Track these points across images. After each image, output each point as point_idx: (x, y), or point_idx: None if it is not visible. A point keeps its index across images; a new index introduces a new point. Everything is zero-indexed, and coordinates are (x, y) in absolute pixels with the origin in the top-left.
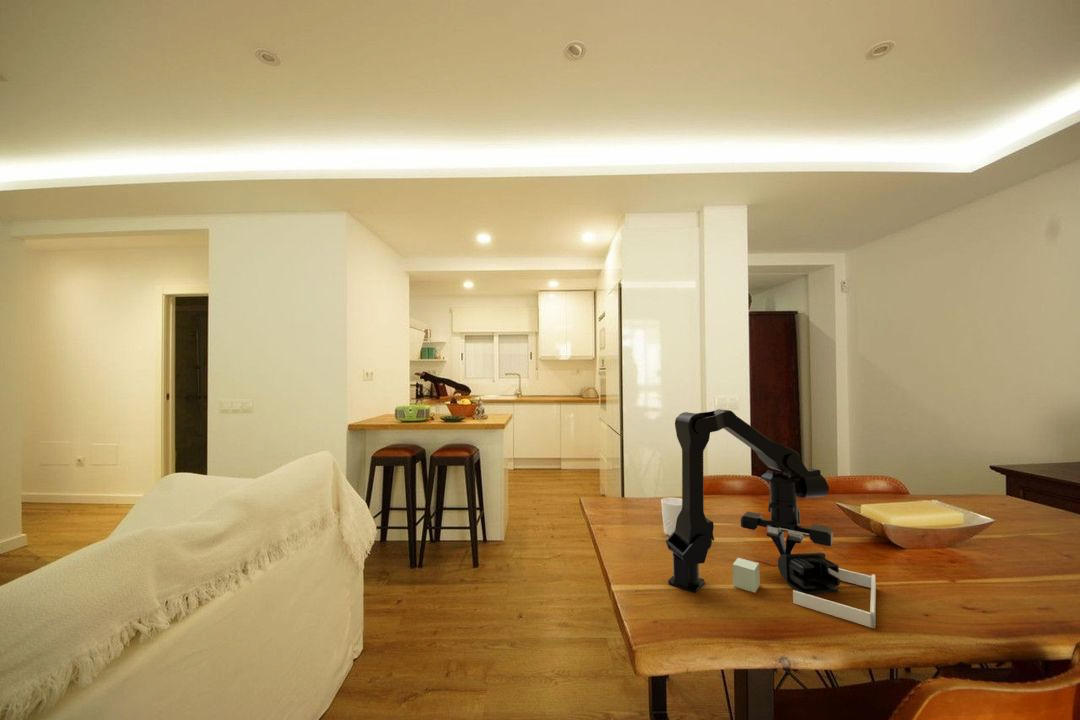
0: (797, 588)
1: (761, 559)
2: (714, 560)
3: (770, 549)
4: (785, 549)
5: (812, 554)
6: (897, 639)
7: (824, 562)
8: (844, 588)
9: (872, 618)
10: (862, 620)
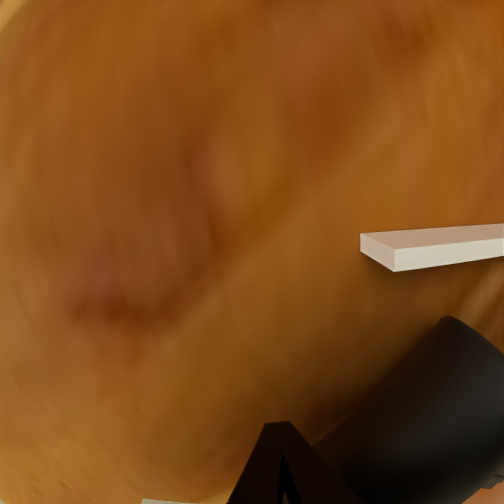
0: None
1: (79, 267)
2: (9, 413)
3: (80, 42)
4: (280, 496)
5: (475, 490)
6: None
7: (495, 481)
8: (494, 316)
9: None
10: None
